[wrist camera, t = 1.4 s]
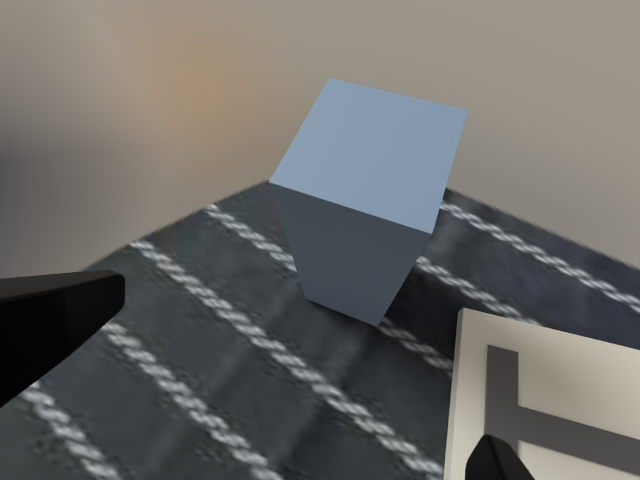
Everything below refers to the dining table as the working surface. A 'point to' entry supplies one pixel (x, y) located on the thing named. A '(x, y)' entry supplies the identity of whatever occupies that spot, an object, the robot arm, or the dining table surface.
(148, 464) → the dining table surface
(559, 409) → the letter card
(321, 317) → the dining table surface
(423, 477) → the dining table surface
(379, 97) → the slate post
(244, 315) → the dining table surface
